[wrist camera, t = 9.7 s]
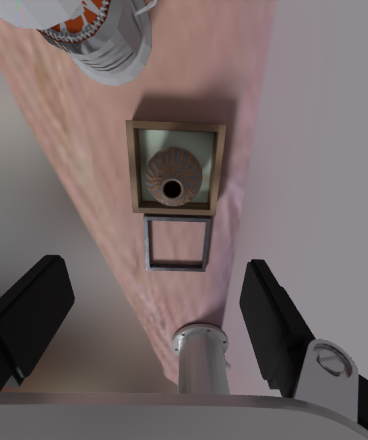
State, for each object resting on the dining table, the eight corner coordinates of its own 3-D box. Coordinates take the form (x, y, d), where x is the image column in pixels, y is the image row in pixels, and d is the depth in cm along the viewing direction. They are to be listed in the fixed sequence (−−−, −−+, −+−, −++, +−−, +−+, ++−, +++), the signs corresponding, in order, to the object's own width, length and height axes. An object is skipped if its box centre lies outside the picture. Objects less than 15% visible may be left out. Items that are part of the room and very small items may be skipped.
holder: (212, 207, 31) (215, 215, 28) (137, 204, 31) (132, 212, 28) (221, 124, 26) (226, 124, 23) (131, 120, 25) (125, 120, 23)
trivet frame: (204, 267, 36) (205, 271, 35) (147, 266, 36) (146, 270, 35) (210, 216, 31) (211, 218, 31) (144, 213, 31) (143, 216, 30)
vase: (174, 131, 25) (171, 136, 18) (210, 170, 28) (221, 190, 20) (139, 169, 27) (122, 189, 20) (175, 203, 30) (172, 232, 22)
